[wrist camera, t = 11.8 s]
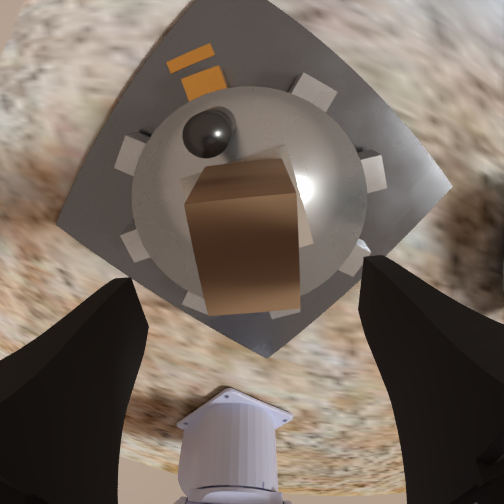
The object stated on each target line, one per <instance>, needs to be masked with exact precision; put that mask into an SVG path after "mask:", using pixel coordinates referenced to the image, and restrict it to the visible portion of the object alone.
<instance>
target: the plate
mask: <svg viewBox="0 0 504 504" xmlns="http://www.w3.org/2000/svg"><path fill="white" fill-rule="evenodd" d="M218 65H219V66H220V67H221V68H222V71H223V73H224V76H225V79H226V82H227V84H228V87H229V88H233V87H241V86H257V87H266V88H272V89H278V90H281V91H285V92H289V90H290V89H291V87H292V85H293V83H294V82H295V80H296V78H297V76H298V75H299V74H300V73H303V72H304V73H306V74H307V75H309V76H311V77H313V78H315V79H316V80H318V81H320V82H322V83H323V84H325V85H327V86H328V87H330V88H332V89H333V90H335V91H337V94H336V96H335V97H334V99H333V101H332V103H331V104H330V106H329V108H328V110H327V111H326V113H327V114H328V115H329V116H330V117H331V118H332V119H333V120H334V121H336V122H337V123H338V125H339V126H340V127H341V128H342V129H343V131H344V132H345V133H346V134H347V136H348V137H349V139H350V140H351V142H352V144H353V145H354V147H355V149H356V151H357V153H358V152H363V151H367V150H371V149H372V150H374V151H376V152H377V153H379V154H381V155H382V161H383V166H384V172H385V178H386V184H387V188H386V189H382V190H378V191H374V192H371V193H367V210H366V216H365V221H364V225H363V228H362V231H361V234H360V237H359V239H361V240H363V241H364V242H365V244H366V245H367V247H368V248H369V250H370V251H371V254H370V255H369V256H375V255H383V256H386V255H387V254H388V253H389V252H390V251H391V250H392V249H393V248H394V247H395V246H396V245H397V244H398V243H399V242H400V241H401V240H402V239H403V238H404V237H405V236H406V235H407V234H408V233H409V232H410V231H411V230H412V229H413V228H414V227H415V226H416V225H417V224H418V223H419V222H420V221H421V220H422V219H423V218H424V217H425V215H426V214H427V213H428V212H429V211H430V210H431V209H432V208H433V207H434V206H435V205H436V204H437V203H438V202H439V201H440V199H441V198H442V197H443V196H444V195H445V194H446V193H447V192H448V191H449V190H450V188H451V187H452V185H451V183H450V182H449V180H448V179H447V178H446V176H445V175H444V173H443V172H442V171H441V169H440V168H439V167H438V165H437V164H436V162H435V161H434V160H433V159H432V157H431V156H430V155H429V153H428V152H427V151H426V149H425V148H424V147H423V146H422V144H421V143H420V142H419V141H418V139H417V138H416V137H415V136H414V134H413V133H412V132H411V131H410V130H409V128H408V127H407V126H406V125H405V124H404V123H403V121H402V120H401V119H400V118H399V117H398V116H397V115H396V114H395V112H394V111H393V110H392V109H391V108H390V107H389V106H388V105H387V104H386V103H385V101H384V100H383V99H382V98H381V97H380V96H379V95H378V94H377V93H376V92H375V91H374V90H373V89H372V88H371V87H370V86H369V85H368V84H367V83H366V82H365V81H364V80H363V79H362V78H361V77H360V76H359V75H358V74H357V73H356V72H355V71H354V70H353V69H352V68H351V67H350V66H349V65H347V64H346V63H345V62H344V61H343V60H342V59H341V58H340V57H339V56H338V55H337V54H335V53H334V52H333V51H332V50H331V49H330V48H329V47H327V46H326V45H325V44H324V43H323V42H321V41H320V40H319V39H318V38H317V37H315V36H314V35H313V34H312V33H311V32H309V31H308V30H307V29H306V28H304V27H303V26H302V25H300V24H299V23H298V22H297V21H295V20H294V19H293V18H291V17H290V16H289V15H287V14H286V13H285V12H283V11H282V10H280V9H279V8H278V7H276V6H275V5H273V4H272V3H270V2H269V1H268V0H196V1H195V2H194V3H193V5H192V6H191V7H190V8H189V9H188V10H187V11H186V12H185V14H184V15H183V16H182V17H181V18H180V19H179V20H178V22H177V23H176V24H175V25H174V26H173V28H172V29H171V30H170V31H169V32H168V34H167V35H166V36H165V37H164V39H163V40H162V41H161V42H160V44H159V45H158V46H157V48H156V49H155V50H154V52H153V53H152V54H151V56H150V57H149V58H148V60H147V61H146V62H145V64H144V65H143V66H142V68H141V69H140V71H139V72H138V74H137V75H136V76H135V78H134V79H133V81H132V82H131V84H130V85H129V87H128V88H127V90H126V91H125V93H124V94H123V96H122V97H121V99H120V100H119V102H118V104H117V105H116V107H115V108H114V110H113V112H112V113H111V115H110V117H109V118H108V120H107V122H106V123H105V125H104V127H103V128H102V130H101V132H100V134H99V136H98V137H97V139H96V141H95V143H94V145H93V146H92V148H91V150H90V152H89V154H88V156H87V158H86V160H85V162H84V164H83V165H82V167H81V169H80V171H79V174H78V176H77V178H76V180H75V182H74V184H73V186H72V188H71V190H70V192H69V195H68V197H67V199H66V201H65V204H64V206H63V208H62V211H61V213H60V215H59V218H58V220H57V223H56V225H57V226H58V227H60V228H61V229H62V230H64V231H65V232H66V233H68V234H69V235H71V236H72V237H73V238H75V239H76V240H77V241H79V242H80V243H81V244H83V245H84V246H86V247H87V248H88V249H90V250H91V251H93V252H94V253H95V254H97V255H98V256H100V257H101V258H103V259H104V260H105V261H107V262H108V263H110V264H111V265H113V266H114V267H116V268H117V269H119V270H120V271H122V272H123V273H124V274H126V275H127V276H129V277H131V278H132V279H133V280H135V281H137V282H138V283H140V284H141V285H143V286H144V287H146V288H147V289H149V290H150V291H152V292H153V293H155V294H157V295H158V296H160V297H161V298H163V299H165V300H166V301H168V302H169V303H171V304H173V305H174V306H176V307H177V308H179V309H181V310H182V311H184V312H186V313H187V314H189V315H191V316H192V317H194V318H196V319H197V320H199V321H201V322H202V323H204V324H206V325H207V326H209V327H211V328H213V329H214V330H216V331H218V332H220V333H221V334H223V335H225V336H227V337H228V338H230V339H232V340H234V341H235V342H237V343H239V344H241V345H243V346H244V347H246V348H248V349H250V350H252V351H254V352H256V353H257V354H259V355H261V356H263V357H265V358H269V357H270V356H271V355H273V354H274V353H275V352H276V351H278V350H279V349H280V348H281V347H283V346H284V345H285V344H286V343H288V342H289V341H290V340H291V339H292V338H294V337H295V336H296V335H297V334H299V333H300V332H301V331H302V330H303V329H305V328H306V327H307V326H308V325H309V324H311V323H312V322H313V321H314V320H315V319H316V318H318V317H319V316H320V315H321V314H322V313H323V312H325V311H326V310H327V309H328V308H329V307H330V306H332V305H333V304H334V303H335V302H336V301H337V300H338V299H339V298H341V297H342V296H343V295H344V294H345V293H346V292H347V291H348V290H350V289H351V288H352V287H353V286H354V285H355V284H356V283H357V282H358V281H359V280H360V279H362V268H363V265H362V266H361V267H360V269H359V270H358V271H357V273H356V274H355V275H354V277H352V276H350V275H348V274H346V273H344V272H342V271H339V270H337V271H336V272H335V273H334V274H333V275H332V276H331V277H330V278H329V279H328V280H326V281H325V282H324V283H322V284H321V285H320V286H319V287H317V288H315V289H313V290H312V291H310V292H308V293H307V294H304V295H302V296H300V311H301V312H298V313H294V314H290V315H287V316H283V317H279V318H275V319H272V318H271V316H270V313H269V311H268V312H256V313H243V314H230V315H215V316H208V315H207V314H204V313H202V312H199V311H197V310H194V309H192V308H189V307H187V306H185V305H182V302H183V298H184V294H185V291H186V290H185V289H184V288H182V287H181V286H179V285H178V284H176V283H175V282H174V281H173V280H171V279H170V278H169V277H168V276H167V275H166V274H165V273H164V272H163V271H162V270H161V269H160V268H159V267H158V266H157V265H156V264H155V262H154V261H153V260H152V258H151V257H150V258H147V259H144V260H141V261H138V262H135V263H134V261H133V259H132V257H131V256H130V254H129V252H128V250H127V248H126V246H125V244H124V242H123V241H122V239H121V237H120V235H121V233H122V232H123V231H124V229H125V228H126V227H127V226H128V225H129V224H131V223H134V222H135V221H134V218H133V210H132V183H133V177H134V176H132V175H129V174H127V173H125V172H122V171H120V170H118V169H115V168H114V167H115V164H116V161H117V158H118V155H119V152H120V149H121V146H122V143H123V141H124V138H125V135H127V134H129V133H132V132H134V131H136V132H139V133H141V134H143V135H146V136H148V137H151V135H152V134H153V132H154V131H155V130H156V129H157V128H158V127H159V126H160V124H161V123H162V122H163V121H164V120H165V119H166V118H167V117H169V116H170V115H171V114H172V113H173V112H175V111H176V110H177V109H179V108H180V107H182V106H183V105H185V104H186V103H188V102H189V100H188V97H187V94H186V92H185V89H184V86H183V84H182V81H181V79H183V78H185V77H188V76H190V75H193V74H196V73H198V72H201V71H204V70H207V69H209V68H212V67H215V66H218Z"/></svg>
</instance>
